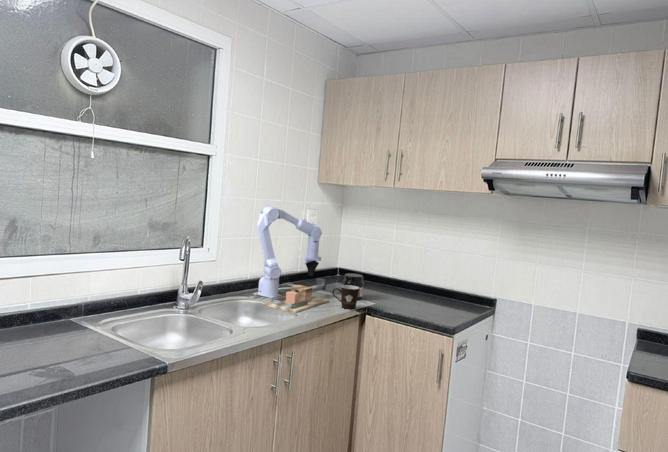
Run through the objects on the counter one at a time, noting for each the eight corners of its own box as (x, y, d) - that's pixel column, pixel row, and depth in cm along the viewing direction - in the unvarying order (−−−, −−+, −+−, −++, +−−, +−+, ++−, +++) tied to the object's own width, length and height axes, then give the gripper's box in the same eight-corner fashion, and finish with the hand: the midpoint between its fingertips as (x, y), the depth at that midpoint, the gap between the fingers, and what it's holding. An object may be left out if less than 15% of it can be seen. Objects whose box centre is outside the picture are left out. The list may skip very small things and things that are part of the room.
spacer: (289, 301, 217) (285, 302, 215) (290, 291, 217) (286, 292, 214) (298, 303, 215) (294, 304, 212) (299, 293, 214) (295, 294, 212)
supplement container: (365, 300, 236) (367, 277, 236) (346, 300, 233) (348, 277, 232) (357, 295, 246) (359, 273, 245) (338, 295, 242) (340, 273, 241)
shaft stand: (264, 305, 211) (265, 289, 210) (300, 295, 236) (301, 280, 235) (295, 312, 203) (296, 295, 202) (328, 301, 228) (330, 286, 227)
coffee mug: (360, 308, 219) (362, 287, 219) (352, 311, 212) (353, 290, 211) (339, 303, 225) (341, 283, 225) (330, 306, 218) (332, 285, 217)
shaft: (295, 293, 221) (296, 283, 221) (317, 287, 238) (317, 278, 238) (304, 295, 219) (305, 285, 219) (325, 289, 236) (326, 279, 235)
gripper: (311, 251, 229) (309, 278, 230) (326, 249, 242) (324, 275, 243) (300, 249, 233) (298, 276, 234) (315, 247, 245) (313, 273, 246)
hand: (310, 275), depth 238 cm, fingers closed
